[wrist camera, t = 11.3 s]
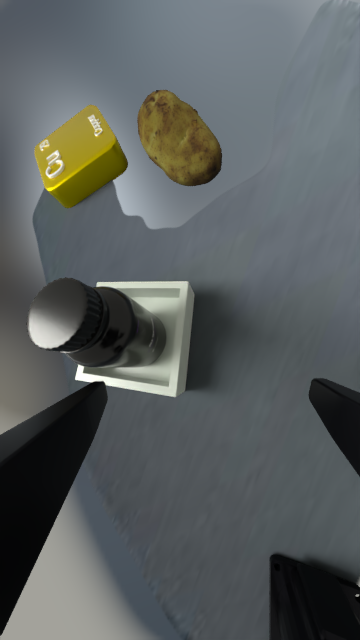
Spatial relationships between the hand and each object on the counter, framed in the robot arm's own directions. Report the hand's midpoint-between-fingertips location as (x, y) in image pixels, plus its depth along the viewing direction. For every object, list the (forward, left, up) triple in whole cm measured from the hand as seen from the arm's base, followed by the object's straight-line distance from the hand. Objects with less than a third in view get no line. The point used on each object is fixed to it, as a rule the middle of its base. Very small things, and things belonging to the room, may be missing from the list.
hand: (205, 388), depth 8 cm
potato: (+31, +7, -13) cm, 34 cm away
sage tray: (+4, +10, -13) cm, 16 cm away
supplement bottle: (+3, +10, -12) cm, 16 cm away
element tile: (+36, +28, -14) cm, 48 cm away
